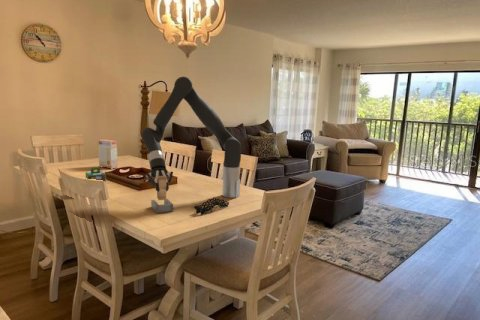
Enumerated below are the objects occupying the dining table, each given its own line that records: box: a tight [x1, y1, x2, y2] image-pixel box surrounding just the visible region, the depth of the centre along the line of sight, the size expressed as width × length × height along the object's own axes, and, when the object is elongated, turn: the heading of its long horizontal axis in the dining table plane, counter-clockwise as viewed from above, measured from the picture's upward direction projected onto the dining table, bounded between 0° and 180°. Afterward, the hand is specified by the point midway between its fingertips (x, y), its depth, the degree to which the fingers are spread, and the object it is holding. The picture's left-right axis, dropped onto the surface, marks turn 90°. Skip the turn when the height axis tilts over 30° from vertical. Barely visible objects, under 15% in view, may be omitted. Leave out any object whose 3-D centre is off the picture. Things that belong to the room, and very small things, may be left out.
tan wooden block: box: [156, 176, 167, 201], centre depth 172 cm, size 4×4×11 cm
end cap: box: [150, 198, 174, 214], centre depth 173 cm, size 11×8×4 cm
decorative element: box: [193, 196, 230, 216], centre depth 175 cm, size 22×5×6 cm, turn 141°
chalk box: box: [85, 166, 107, 182], centre depth 196 cm, size 9×9×15 cm
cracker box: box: [98, 138, 118, 169], centre depth 264 cm, size 14×6×21 cm, turn 58°
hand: (162, 190), depth 170 cm, fingers closed on tan wooden block, 3 cm apart
